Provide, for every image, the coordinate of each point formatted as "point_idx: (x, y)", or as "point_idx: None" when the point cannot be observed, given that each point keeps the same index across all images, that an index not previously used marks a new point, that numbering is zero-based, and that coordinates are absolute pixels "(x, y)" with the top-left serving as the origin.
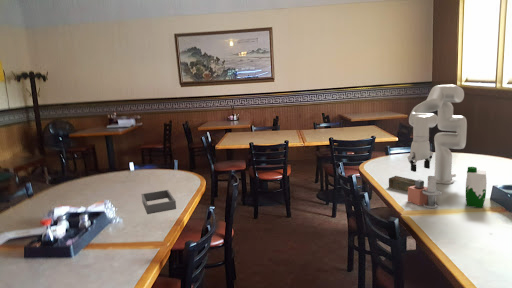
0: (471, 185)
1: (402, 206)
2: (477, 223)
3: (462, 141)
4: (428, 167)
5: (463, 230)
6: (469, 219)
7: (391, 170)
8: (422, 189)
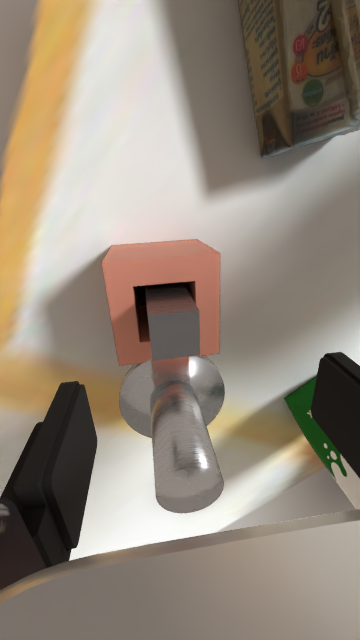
0: (345, 491)
1: (29, 303)
2: None
3: None
4: (319, 424)
5: (94, 527)
6: None
7: None
8: None
